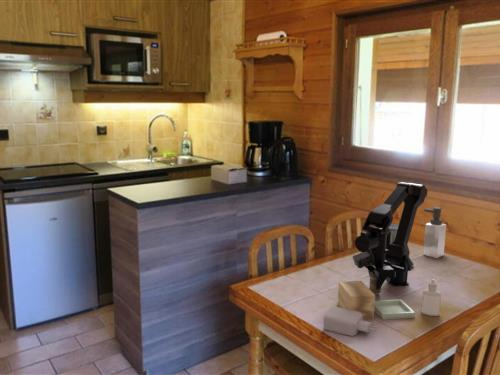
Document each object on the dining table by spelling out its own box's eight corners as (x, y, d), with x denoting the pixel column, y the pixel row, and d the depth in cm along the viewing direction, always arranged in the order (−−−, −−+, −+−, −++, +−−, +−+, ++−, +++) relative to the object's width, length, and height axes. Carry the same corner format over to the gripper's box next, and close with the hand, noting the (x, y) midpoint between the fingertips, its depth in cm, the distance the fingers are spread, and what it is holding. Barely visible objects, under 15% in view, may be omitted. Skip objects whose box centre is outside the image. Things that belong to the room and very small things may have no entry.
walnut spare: (378, 288, 169) (379, 270, 168) (382, 293, 165) (383, 274, 164) (367, 289, 168) (368, 271, 167) (371, 293, 165) (372, 275, 163)
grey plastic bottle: (372, 343, 134) (323, 330, 141) (379, 329, 142) (333, 318, 149) (372, 328, 133) (323, 316, 140) (380, 315, 141) (333, 304, 148)
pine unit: (359, 301, 161) (360, 280, 159) (373, 318, 148) (375, 295, 147) (337, 303, 159) (338, 281, 158) (350, 320, 147) (351, 296, 146)
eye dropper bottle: (434, 318, 149) (437, 283, 146) (418, 312, 153) (421, 278, 151) (441, 314, 151) (444, 280, 149) (426, 308, 156) (428, 275, 153)
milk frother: (385, 253, 210) (387, 222, 208) (420, 261, 201) (422, 228, 198) (373, 262, 199) (375, 229, 196) (410, 270, 190) (412, 236, 187)
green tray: (400, 304, 159) (400, 299, 159) (414, 317, 149) (415, 312, 149) (370, 305, 158) (370, 301, 157) (382, 319, 148) (382, 314, 148)
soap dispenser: (425, 250, 215) (428, 204, 211) (443, 255, 209) (447, 208, 205) (418, 253, 211) (422, 206, 207) (436, 258, 205) (441, 210, 200)
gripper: (346, 238, 171) (344, 278, 174) (366, 255, 153) (363, 299, 156) (375, 237, 173) (372, 276, 176) (397, 254, 155) (394, 297, 158)
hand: (375, 287), depth 166 cm, fingers closed on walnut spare, 4 cm apart
